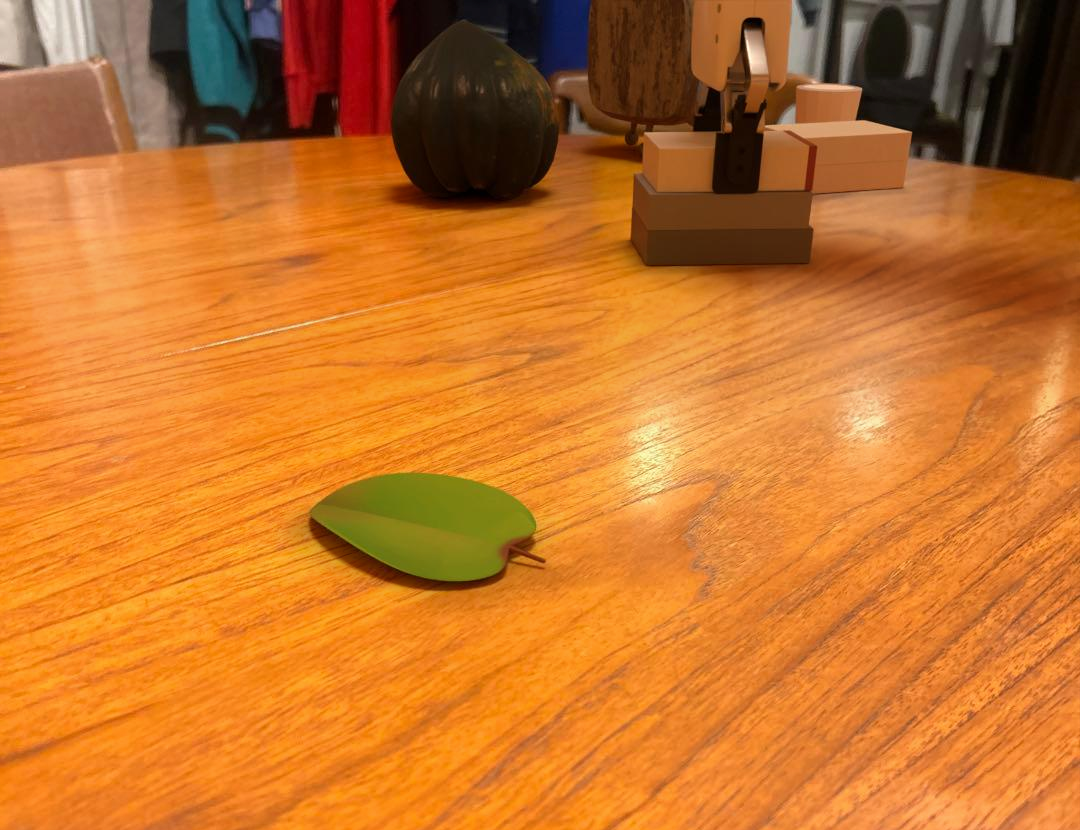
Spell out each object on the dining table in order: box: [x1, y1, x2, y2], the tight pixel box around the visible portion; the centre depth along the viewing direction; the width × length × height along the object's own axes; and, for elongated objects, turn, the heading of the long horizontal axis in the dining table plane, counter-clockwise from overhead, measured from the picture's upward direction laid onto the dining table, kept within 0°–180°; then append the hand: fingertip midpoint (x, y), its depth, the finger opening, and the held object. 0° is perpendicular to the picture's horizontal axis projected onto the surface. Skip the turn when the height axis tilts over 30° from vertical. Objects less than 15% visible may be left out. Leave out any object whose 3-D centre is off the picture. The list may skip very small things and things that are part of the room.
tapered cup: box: [794, 82, 863, 124], centre depth 117 cm, size 7×7×7 cm
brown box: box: [630, 172, 815, 267], centre depth 81 cm, size 12×8×5 cm, turn 94°
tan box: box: [641, 130, 817, 193], centre depth 79 cm, size 11×7×3 cm, turn 94°
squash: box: [390, 19, 560, 201], centre depth 98 cm, size 14×15×15 cm
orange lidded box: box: [764, 119, 913, 195], centre depth 104 cm, size 12×8×5 cm, turn 109°
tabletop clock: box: [586, 0, 702, 159], centre depth 112 cm, size 14×9×25 cm, turn 49°
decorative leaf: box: [308, 472, 547, 582], centre depth 43 cm, size 8×9×1 cm
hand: (722, 180), depth 80 cm, fingers closed on tan box, 7 cm apart
